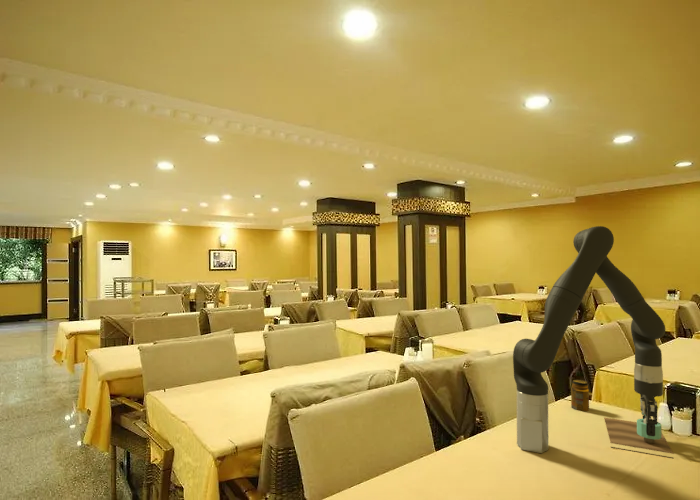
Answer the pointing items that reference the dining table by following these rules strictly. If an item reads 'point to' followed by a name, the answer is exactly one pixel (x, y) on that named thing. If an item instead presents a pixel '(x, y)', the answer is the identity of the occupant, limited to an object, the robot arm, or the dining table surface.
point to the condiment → (580, 395)
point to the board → (634, 437)
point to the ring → (642, 430)
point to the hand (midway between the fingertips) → (648, 431)
